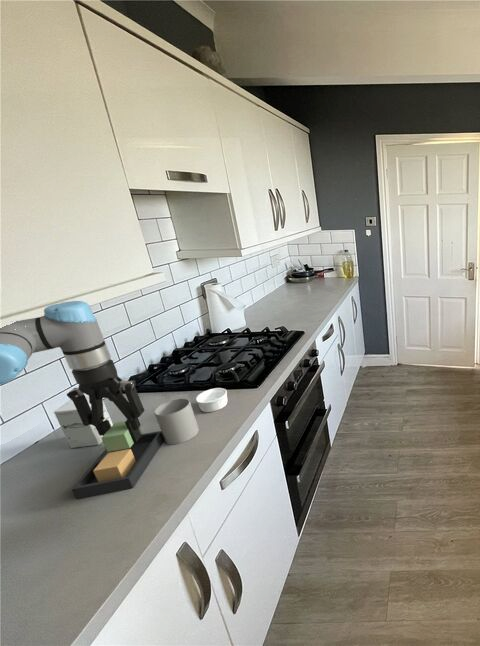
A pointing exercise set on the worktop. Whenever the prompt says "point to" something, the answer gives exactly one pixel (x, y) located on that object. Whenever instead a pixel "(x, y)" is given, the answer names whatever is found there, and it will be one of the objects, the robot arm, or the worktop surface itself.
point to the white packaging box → (78, 426)
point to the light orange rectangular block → (115, 465)
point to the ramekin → (212, 399)
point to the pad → (118, 437)
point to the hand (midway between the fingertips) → (125, 440)
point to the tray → (143, 456)
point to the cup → (176, 421)
